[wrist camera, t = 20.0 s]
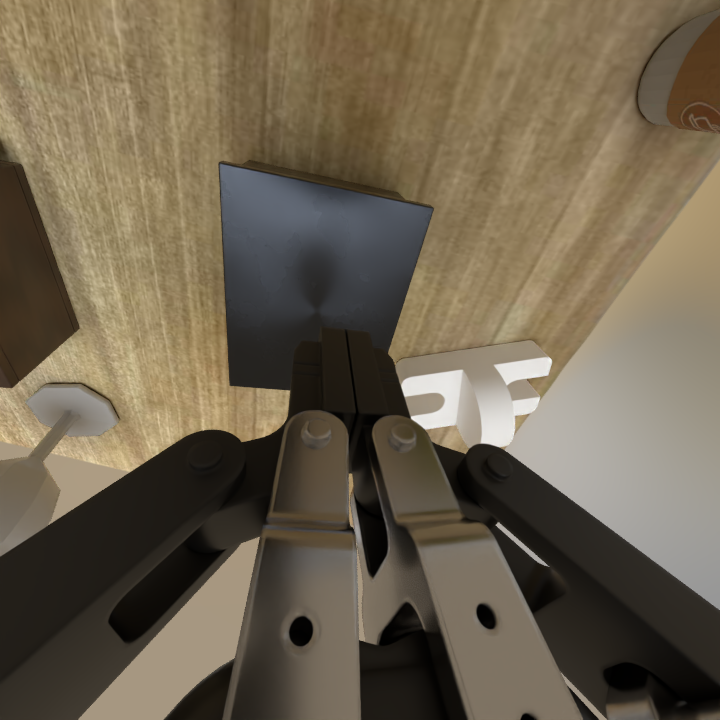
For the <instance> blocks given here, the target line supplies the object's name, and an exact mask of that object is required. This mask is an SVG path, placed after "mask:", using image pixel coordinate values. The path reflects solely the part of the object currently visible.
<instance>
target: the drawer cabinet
mask: <svg viewBox="0 0 720 720" xmlns="http://www.w3.org/2000/svg"><path fill="white" fill-rule="evenodd" d="M78 329H79V326H78V323H77V320H76V317H75V315H74V312H73V309H72V306H71V303H70V300H69V298H68V295H67V292H66V289H65V286H64V284H63V281H62V278H61V275H60V272H59V269H58V267H57V264H56V261H55V258H54V255H53V253H52V250H51V247H50V244H49V241H48V238H47V236H46V233H45V230H44V227H43V224H42V221H41V219H40V216H39V213H38V210H37V207H36V205H35V202H34V199H33V196H32V193H31V190H30V188H29V185H28V182H27V179H26V176H25V174H24V171H23V168H22V165H21V164H16V163H11V162H6V161H0V387H3V388H13V387H14V386H15V385H16V384H17V383H19V381H21V380H22V379H23V378H24V377H25V376H27V375H28V374H29V373H30V372H31V371H32V370H33V369H34V368H36V367H37V366H38V365H39V364H40V363H41V362H42V361H43V360H45V359H46V358H47V357H48V356H49V355H50V354H51V353H52V352H54V351H55V350H56V349H57V348H58V347H59V346H60V345H61V344H63V343H64V342H65V341H66V340H67V339H68V338H69V337H70V336H72V335H73V334H74V332H76V331H77V330H78Z"/></svg>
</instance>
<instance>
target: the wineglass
mask: <svg viewBox="0 0 720 720" xmlns="http://www.w3.org/2000/svg"><path fill="white" fill-rule="evenodd" d="M25 402H26V404H27V405H28V406H29V408H30V409H31V410H32V412H33V413H34V415H35V416H36V417H37V419H38V420H39V421H40V422H41V423H43V424H45V425H47V426H49V427H51V428H52V429H51V430H50V431H49V432H48V433H47V435H46V436H45V437H44V438H43V439H42V440H41V442H40V443H39V444H38V445H37V446H36V448H35V449H34V450H33V451H32V452H31V454H30V455H29V456H28V457H21V458H15V459H8V460H1V461H0V556H2V555H3V554H5V553H6V552H8V551H10V550H11V549H13V548H14V547H16V546H17V545H19V544H20V543H22V542H23V541H25V540H27V539H28V538H30V537H31V536H33V535H34V534H36V533H37V532H39V531H40V530H42V529H43V528H45V527H47V525H48V524H49V522H50V521H51V519H52V515H53V512H54V509H55V506H56V503H57V500H58V497H59V494H60V489H59V487H58V486H57V484H56V482H55V481H54V479H53V477H52V476H51V474H50V472H49V471H48V469H47V467H46V466H45V464H44V462H43V461H44V460H45V458H46V457H47V456H48V455H49V454H50V452H51V451H52V450H53V449H54V447H55V446H56V445H57V444H58V442H59V441H60V440H61V439H62V437H63V436H64V435H67V436H69V437H71V436H100V435H101V434H103V433H104V432H106V431H107V430H109V429H110V428H112V427H113V426H115V425H116V424H118V423H119V419H118V417H117V415H116V413H115V411H114V409H113V407H112V405H111V403H110V401H109V400H107V399H105V398H104V397H102V396H100V395H99V394H97V393H95V392H93V391H92V390H90V389H88V388H87V387H85V386H83V385H82V384H46V385H44V386H43V387H42V388H40V389H39V390H38V391H36V392H35V393H34V394H33V395H31V396H30V397H29V398H27V399H26V401H25Z"/></svg>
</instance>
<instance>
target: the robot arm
mask: <svg viewBox="0 0 720 720" xmlns="http://www.w3.org/2000/svg"><path fill="white" fill-rule="evenodd" d="M349 473H352V475H353V485H354V486H353V489H352V492H351V495H350V506H351V512H352V518H353V524H354V529H353V527H351V526H350V522H349ZM498 522H500V524H502V525H503V526H504V527H505V528H506V529H507V530H508V531H510V532H511V533H512V534H513V535H514V536H515V537H516V538H518V539H519V540H520V541H521V542H522V543H523V544H524V545H526V546H527V547H528V548H529V549H530V550H531V551H532V552H534V553H535V554H536V555H537V556H538V557H539V558H540V559H542V560H543V561H544V562H545V563H546V564H547V565H548V566H550V567H548V566H544V565H542V564H539V563H538V562H537V561H535V560H534V559H533V558H532V557H530V556H529V555H528V554H527V553H526V552H525V551H524V550H522V549H521V548H520V547H519V546H518V545H517V544H516V543H515V542H514V541H512V540H511V539H510V538H509V537H508V536H507V535H506V534H504V533H503V532H502V531H501V530H500V529H499V528H498V527H497V526H496V524H497V523H498ZM354 530H355V531H354ZM257 537H260V540H259V545H258V549H257V554H256V559H255V564H254V568H253V573H252V578H251V583H250V588H249V593H248V597H247V602H246V607H245V612H244V617H243V622H242V626H241V631H240V636H239V641H238V646H237V651H236V656H235V658H234V659H232V660H231V661H229V662H227V663H226V664H224V665H222V666H221V667H219V668H218V669H217V670H215V671H214V672H212V673H211V674H210V675H209V676H207V677H206V678H205V679H203V680H202V681H201V682H200V683H199V684H197V685H196V686H195V687H194V688H193V689H192V690H191V691H190V692H189V693H188V694H187V695H186V696H185V697H184V698H183V699H182V700H181V701H180V702H179V703H178V704H177V705H176V707H175V708H174V709H173V710H172V711H171V712H170V713H169V714H168V715H167V717H166V718H165V719H164V720H599V719H598V718H597V717H596V716H595V715H594V714H593V713H592V712H591V711H590V709H589V708H588V707H587V706H586V705H585V704H584V703H583V702H582V701H581V700H580V699H579V697H578V696H577V695H576V694H575V693H574V692H573V691H572V690H571V689H570V688H569V687H568V686H567V684H566V683H565V681H564V679H563V677H562V675H561V673H562V674H563V675H564V676H565V677H566V678H567V679H568V680H569V681H570V682H571V683H572V684H573V685H574V686H575V687H576V688H577V689H578V690H579V691H580V692H581V693H582V694H583V695H584V696H585V697H586V698H587V699H588V700H589V701H590V702H591V703H592V704H593V705H594V706H595V707H596V708H597V710H599V712H600V713H601V714H602V715H603V716H604V717H605V718H606V719H607V720H720V610H718V609H717V608H716V607H714V606H713V605H712V604H710V603H709V602H708V601H706V600H705V599H703V598H702V597H701V596H700V595H698V594H697V593H695V592H694V591H693V590H692V589H690V588H689V587H688V586H686V585H685V584H683V583H682V582H681V581H679V580H678V579H677V578H675V577H674V576H673V575H671V574H670V573H669V572H667V571H666V570H665V569H663V568H662V567H661V566H659V565H658V564H657V563H655V562H654V561H652V560H651V559H650V558H649V557H647V556H646V555H645V554H643V553H642V552H641V551H639V550H638V549H637V548H635V547H634V546H633V545H631V544H630V543H629V542H627V541H626V540H624V539H623V538H622V537H620V536H619V535H618V534H616V533H615V532H614V531H612V530H611V529H610V528H608V527H607V526H606V525H604V524H603V523H602V522H600V521H599V520H598V519H596V518H595V517H593V516H592V515H591V514H589V513H588V512H587V511H585V510H584V509H583V508H581V507H580V506H579V505H577V504H576V503H575V502H573V501H572V500H571V499H569V498H568V497H567V496H565V495H564V494H563V493H561V492H560V491H559V490H557V489H556V488H555V487H553V486H552V485H551V484H549V483H548V482H547V481H545V480H544V479H542V478H541V477H540V476H539V475H537V474H536V473H535V472H533V471H532V470H530V469H529V468H527V467H526V466H525V465H524V464H522V463H521V462H520V461H518V460H517V459H516V458H514V457H513V456H511V455H510V454H509V453H508V452H506V451H505V450H503V449H501V448H499V447H497V446H494V445H490V444H476V445H473V446H472V447H471V448H470V449H469V450H468V452H467V453H466V454H464V453H461V452H458V451H455V450H452V449H449V448H446V447H442V446H440V445H437V444H435V443H433V442H431V440H430V437H429V435H428V433H427V432H426V431H425V429H424V428H423V427H422V426H421V425H419V424H418V423H417V422H415V421H414V420H412V419H411V416H410V413H409V410H408V407H407V404H406V400H405V397H404V394H403V391H402V388H401V384H400V383H399V378H398V375H397V373H396V368H395V365H394V362H393V359H392V358H391V357H390V356H389V355H388V353H387V352H386V351H385V350H384V349H381V348H373V345H372V341H371V337H370V333H369V332H368V331H360V330H352V329H343V328H334V327H326V326H321V327H320V332H319V339H318V342H315V341H306V340H302V341H301V342H300V344H299V345H298V346H297V347H296V348H295V350H294V359H293V369H292V379H291V388H290V399H289V410H288V417H287V420H286V421H285V423H284V424H283V425H282V426H281V428H279V429H278V430H277V431H276V432H274V433H272V434H270V435H268V436H266V437H262V438H259V439H255V440H250V441H246V442H241V441H240V440H239V439H238V438H237V437H236V436H234V435H233V434H231V433H228V432H226V431H221V430H204V431H199V432H196V433H193V434H190V435H188V436H186V437H184V438H183V439H181V440H179V441H178V442H176V443H175V444H173V445H172V446H170V447H168V448H167V449H165V450H164V451H162V452H161V453H159V454H158V455H156V456H155V457H153V458H152V459H150V460H148V461H147V462H145V463H144V464H142V465H141V466H139V467H138V468H136V469H135V470H133V471H131V472H130V473H128V474H127V475H125V476H124V477H122V478H121V479H119V480H118V481H116V482H114V483H113V484H111V485H110V486H108V487H107V488H105V489H104V490H102V491H101V492H99V493H98V494H96V495H95V496H93V497H91V498H90V499H88V500H87V501H85V502H84V503H82V504H81V505H79V506H78V507H76V508H74V509H73V510H71V511H70V512H68V513H67V514H65V515H64V516H62V517H61V518H59V519H57V520H56V521H54V522H53V523H51V524H50V525H48V526H47V527H45V528H43V529H42V530H40V531H39V532H37V533H36V534H34V535H33V536H31V537H30V538H28V539H27V540H25V541H23V542H22V543H20V544H19V545H17V546H16V547H14V548H13V549H11V550H10V551H8V552H6V553H5V554H3V555H2V556H0V720H78V719H79V717H80V716H82V714H83V713H84V712H85V711H86V710H87V709H88V708H89V707H90V706H91V705H92V704H93V703H94V702H95V701H96V699H97V698H98V697H99V696H100V695H101V694H102V693H103V692H104V691H105V690H106V689H107V688H108V687H109V685H110V684H111V683H112V682H113V681H114V680H115V679H116V678H117V677H118V676H119V675H120V674H121V673H122V672H123V670H124V669H125V668H126V667H127V666H128V665H129V664H130V663H131V662H132V661H133V660H134V659H135V657H136V656H137V655H138V654H139V653H140V652H141V651H142V650H143V649H144V648H145V647H146V646H147V645H148V643H149V642H150V641H151V640H152V639H153V638H154V637H155V636H156V635H157V634H158V633H159V632H160V631H161V630H162V628H164V626H165V625H166V624H167V623H168V622H169V621H170V620H171V619H172V618H173V617H174V616H175V615H176V614H177V612H178V611H179V610H180V609H181V608H182V607H183V606H184V605H185V604H186V603H187V602H188V601H189V599H191V598H192V596H193V595H194V594H195V593H196V592H197V591H198V590H199V589H200V588H201V587H202V586H203V585H204V583H205V582H206V581H207V580H208V579H209V578H210V577H211V576H212V575H213V574H214V573H215V572H216V571H217V570H218V569H219V567H220V566H221V565H222V564H223V563H224V562H225V561H226V560H227V559H228V558H229V557H230V556H231V554H233V552H234V551H235V550H236V549H237V548H238V547H239V545H240V544H241V543H243V542H246V541H249V540H251V539H254V538H257ZM356 542H357V548H358V554H359V560H360V566H361V572H362V580H363V596H362V618H363V627H364V634H365V641H366V642H364V641H360V640H359V624H358V584H357V548H356Z"/></svg>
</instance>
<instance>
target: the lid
mask: <svg viewBox="0 0 720 720" xmlns="http://www.w3.org/2000/svg"><path fill="white" fill-rule="evenodd" d="M219 182H220V202H221V223H222V243H223V263H224V283H225V303H226V323H227V343H228V363H229V383H230V386H239V387H252V388H265V389H279V390H290V388H291V379H292V369H293V359H294V350H295V348H296V347H297V346H298V345H299V344H300V342H301V341H302V340H306V341H315V342H318V339H319V332H320V327H321V326H326V327H334V328H343V329H352V330H360V331H368V332H369V333H370V337H371V341H372V345H373V348H381V349H384V350H385V351H386V352H387V353H388V351H389V348H390V345H391V342H392V338H393V335H394V332H395V329H396V326H397V323H398V320H399V317H400V313H401V310H402V307H403V304H404V301H405V298H406V295H407V291H408V288H409V285H410V282H411V279H412V276H413V273H414V270H415V266H416V263H417V260H418V257H419V254H420V251H421V248H422V245H423V241H424V238H425V235H426V232H427V229H428V226H429V223H430V220H431V216H432V213H433V210H434V208H433V207H432V206H431V205H428V204H423V203H419V202H414V201H409V200H405V199H400V198H395V197H390V196H386V195H381V194H376V193H372V192H367V191H362V190H358V189H353V188H348V187H344V186H339V185H334V184H329V183H325V182H320V181H315V180H311V179H306V178H301V177H297V176H292V175H287V174H282V173H278V172H273V171H268V170H264V169H259V168H254V167H250V166H245V165H240V164H235V163H231V162H226V161H221V162H219Z"/></svg>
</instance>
